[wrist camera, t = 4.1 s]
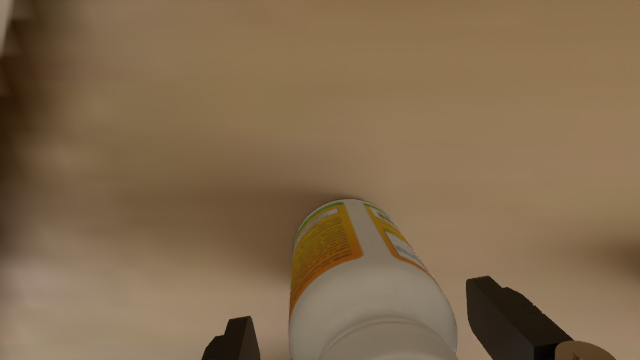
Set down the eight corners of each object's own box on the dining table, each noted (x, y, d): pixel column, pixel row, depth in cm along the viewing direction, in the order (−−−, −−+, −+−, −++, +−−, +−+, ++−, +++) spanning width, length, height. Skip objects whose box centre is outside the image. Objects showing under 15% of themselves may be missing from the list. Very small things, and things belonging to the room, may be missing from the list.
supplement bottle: (290, 291, 18) (276, 511, 8) (296, 193, 17) (289, 323, 7) (390, 295, 18) (485, 512, 9) (405, 200, 17) (534, 332, 8)
